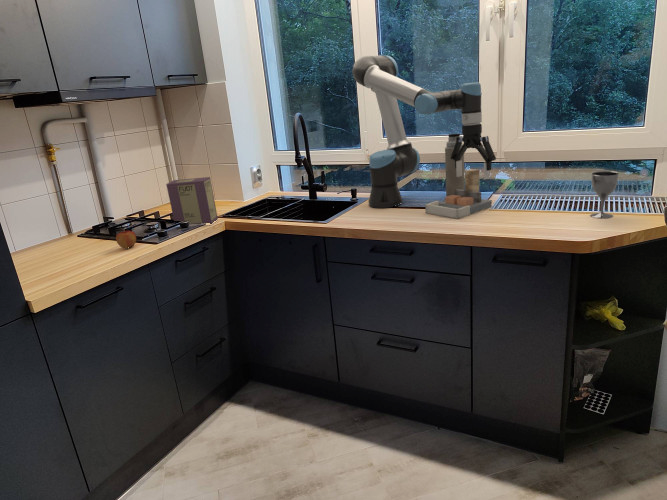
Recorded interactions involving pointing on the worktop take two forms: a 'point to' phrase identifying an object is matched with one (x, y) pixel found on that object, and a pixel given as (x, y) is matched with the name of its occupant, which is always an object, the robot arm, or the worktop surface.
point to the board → (473, 208)
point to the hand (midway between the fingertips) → (472, 177)
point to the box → (192, 200)
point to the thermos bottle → (452, 168)
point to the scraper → (471, 186)
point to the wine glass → (604, 189)
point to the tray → (446, 210)
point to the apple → (126, 239)
